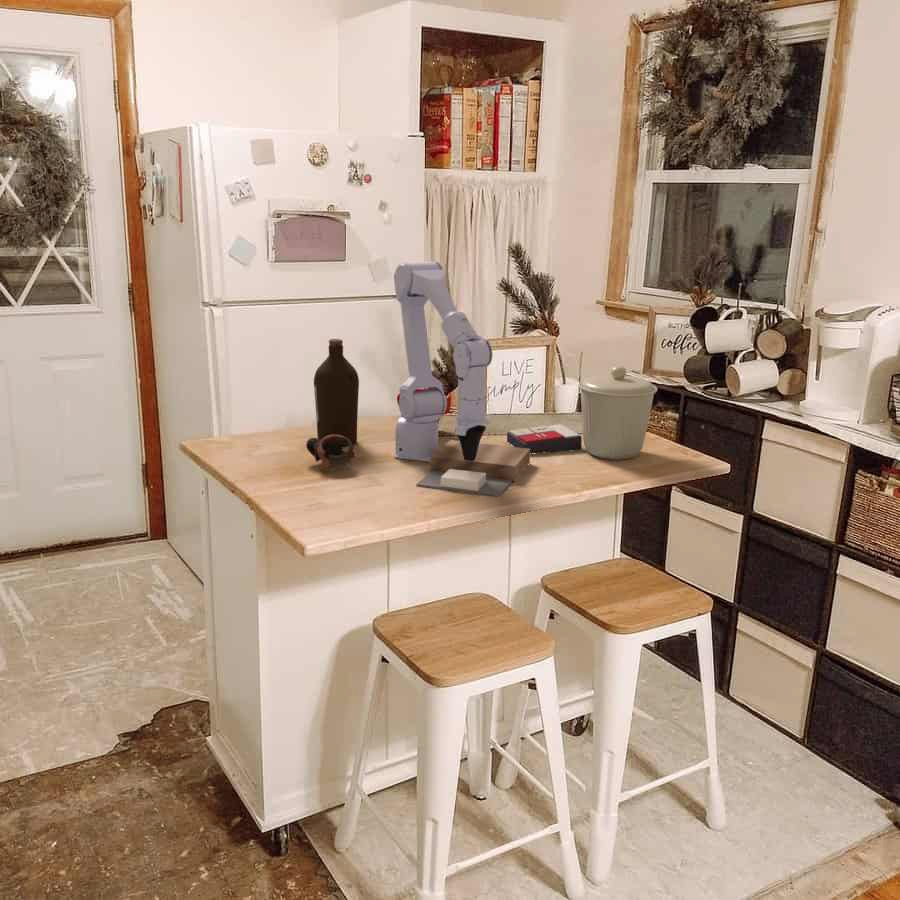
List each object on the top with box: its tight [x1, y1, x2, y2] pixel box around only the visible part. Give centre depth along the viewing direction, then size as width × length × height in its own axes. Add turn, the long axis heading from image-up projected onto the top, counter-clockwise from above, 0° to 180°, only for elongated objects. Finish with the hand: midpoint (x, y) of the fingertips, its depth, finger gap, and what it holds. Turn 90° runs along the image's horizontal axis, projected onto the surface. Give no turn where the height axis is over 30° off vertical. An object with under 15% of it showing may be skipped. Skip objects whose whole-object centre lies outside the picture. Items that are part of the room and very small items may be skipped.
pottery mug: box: [305, 435, 357, 473], centre depth 198 cm, size 12×10×8 cm
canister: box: [577, 365, 658, 461], centre depth 209 cm, size 18×18×21 cm
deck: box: [429, 439, 531, 482], centre depth 199 cm, size 19×14×4 cm
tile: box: [441, 469, 486, 491], centre depth 187 cm, size 8×6×2 cm
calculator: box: [506, 424, 583, 455], centre depth 217 cm, size 11×4×15 cm
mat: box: [415, 471, 512, 497], centre depth 189 cm, size 18×10×1 cm, turn 72°
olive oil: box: [313, 338, 360, 448], centre depth 213 cm, size 11×11×25 cm
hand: (469, 459), depth 190 cm, fingers closed
